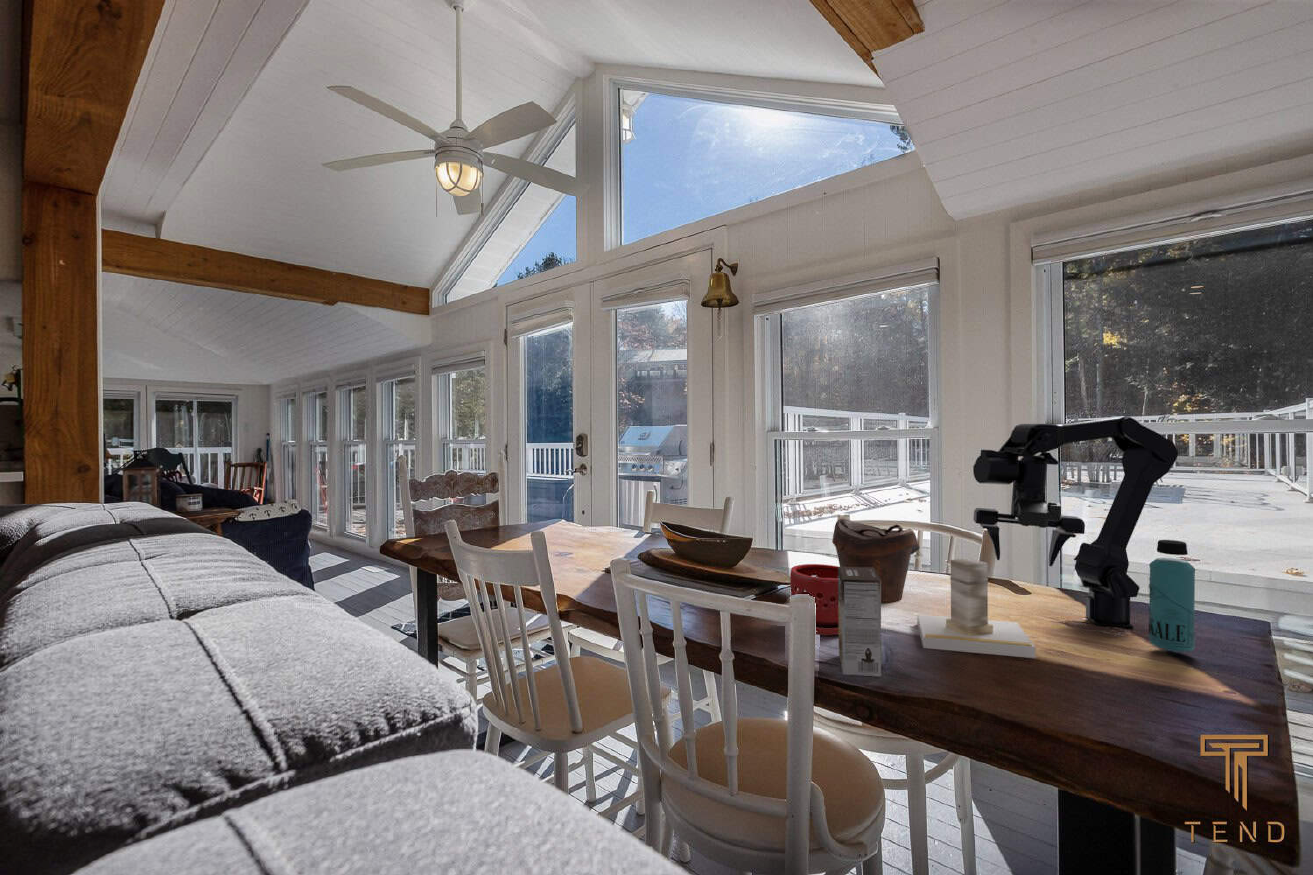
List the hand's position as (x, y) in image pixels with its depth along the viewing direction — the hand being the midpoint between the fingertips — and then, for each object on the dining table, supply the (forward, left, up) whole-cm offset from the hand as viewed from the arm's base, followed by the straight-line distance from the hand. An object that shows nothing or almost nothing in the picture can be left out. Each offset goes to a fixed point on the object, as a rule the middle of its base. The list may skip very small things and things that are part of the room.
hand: (1023, 562), depth 125 cm
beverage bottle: (-21, +10, -13) cm, 26 cm away
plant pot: (+38, +13, -13) cm, 43 cm away
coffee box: (+31, +31, -13) cm, 46 cm away
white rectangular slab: (+11, +12, -13) cm, 21 cm away
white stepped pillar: (+12, +13, -11) cm, 20 cm away
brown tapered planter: (+28, -15, -13) cm, 34 cm away
